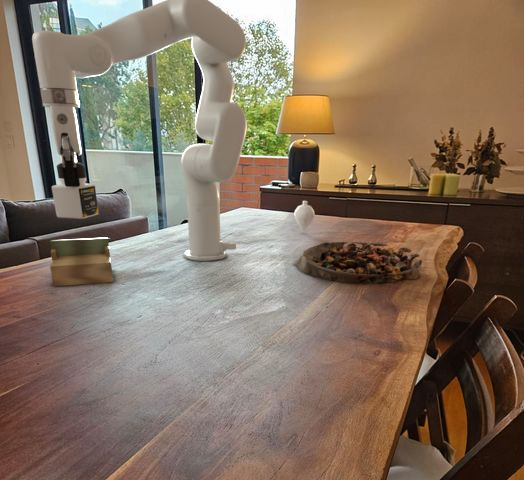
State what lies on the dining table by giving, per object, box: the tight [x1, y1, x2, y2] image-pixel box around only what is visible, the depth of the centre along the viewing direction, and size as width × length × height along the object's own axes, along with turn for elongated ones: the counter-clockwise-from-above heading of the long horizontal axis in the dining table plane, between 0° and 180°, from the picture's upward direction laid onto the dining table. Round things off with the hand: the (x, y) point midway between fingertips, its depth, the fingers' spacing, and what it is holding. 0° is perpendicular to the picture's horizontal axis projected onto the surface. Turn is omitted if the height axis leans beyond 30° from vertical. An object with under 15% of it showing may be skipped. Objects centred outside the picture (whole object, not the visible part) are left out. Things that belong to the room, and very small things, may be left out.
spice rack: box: [49, 237, 114, 287], centre depth 116 cm, size 14×11×9 cm
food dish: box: [294, 241, 423, 284], centre depth 129 cm, size 35×33×8 cm
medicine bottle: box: [51, 162, 99, 220], centre depth 108 cm, size 7×7×12 cm
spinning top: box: [293, 200, 315, 234], centre depth 173 cm, size 8×8×12 cm
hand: (73, 184), depth 108 cm, fingers closed on medicine bottle, 7 cm apart
